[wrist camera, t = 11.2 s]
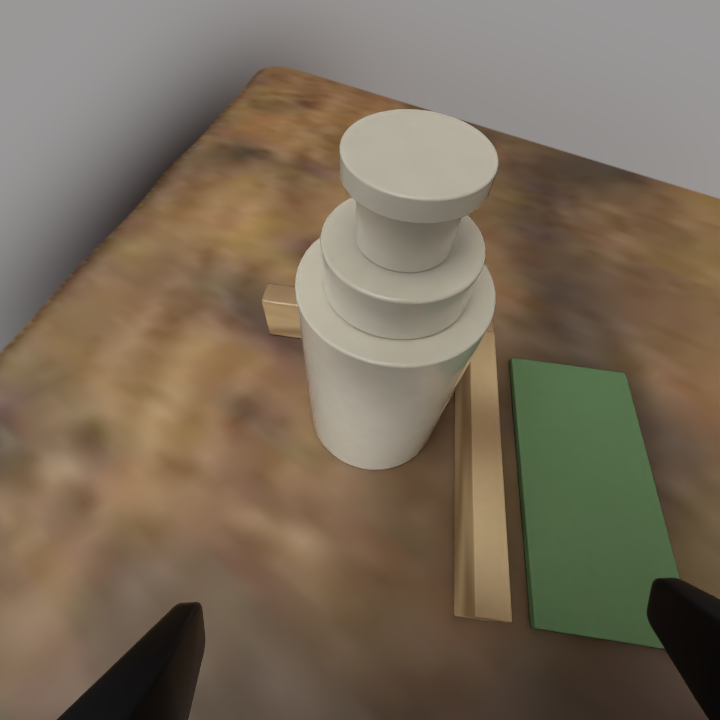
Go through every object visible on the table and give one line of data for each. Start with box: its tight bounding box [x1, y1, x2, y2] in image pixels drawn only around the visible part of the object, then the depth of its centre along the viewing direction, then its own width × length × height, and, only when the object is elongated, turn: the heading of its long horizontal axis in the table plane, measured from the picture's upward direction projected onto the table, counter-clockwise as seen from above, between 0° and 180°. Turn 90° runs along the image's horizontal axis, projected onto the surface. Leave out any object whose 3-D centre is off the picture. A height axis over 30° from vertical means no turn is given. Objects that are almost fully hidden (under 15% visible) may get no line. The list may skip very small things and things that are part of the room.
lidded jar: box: [295, 109, 498, 470], centre depth 14 cm, size 6×6×13 cm
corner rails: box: [262, 283, 512, 622], centre depth 17 cm, size 13×11×3 cm
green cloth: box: [509, 358, 680, 649], centre depth 18 cm, size 12×6×1 cm, turn 172°
